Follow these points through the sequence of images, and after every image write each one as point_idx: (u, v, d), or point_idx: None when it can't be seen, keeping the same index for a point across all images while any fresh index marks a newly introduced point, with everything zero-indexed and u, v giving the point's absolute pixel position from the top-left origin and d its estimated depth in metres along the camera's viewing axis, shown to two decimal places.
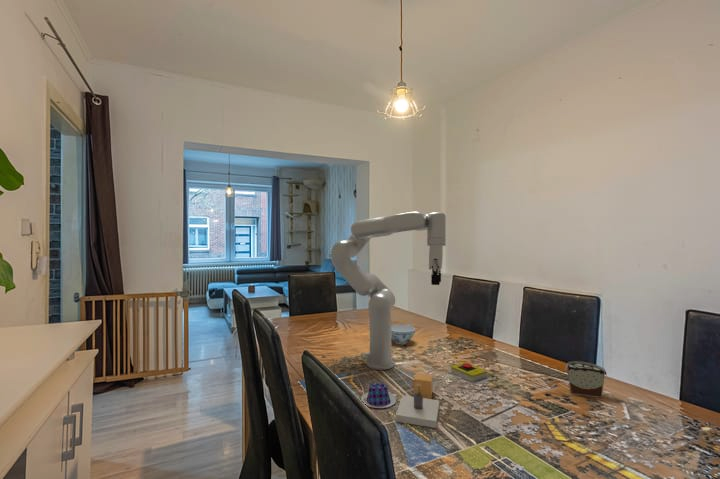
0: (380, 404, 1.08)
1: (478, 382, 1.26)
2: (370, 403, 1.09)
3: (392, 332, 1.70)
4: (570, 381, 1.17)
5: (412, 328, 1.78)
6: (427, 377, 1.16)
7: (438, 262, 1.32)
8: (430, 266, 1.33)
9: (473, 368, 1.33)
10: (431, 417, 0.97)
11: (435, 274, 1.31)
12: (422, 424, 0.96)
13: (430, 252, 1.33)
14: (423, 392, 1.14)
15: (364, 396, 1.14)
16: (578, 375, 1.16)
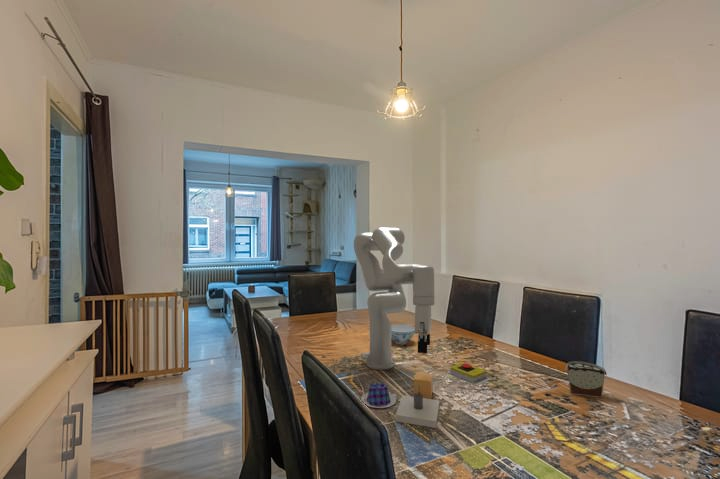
0: (381, 404, 1.08)
1: (479, 382, 1.25)
2: (370, 403, 1.09)
3: (392, 332, 1.70)
4: (570, 381, 1.17)
5: (412, 328, 1.78)
6: (427, 377, 1.16)
7: (425, 326, 1.11)
8: (416, 330, 1.12)
9: (472, 368, 1.33)
10: (431, 417, 0.97)
11: (422, 341, 1.10)
12: (422, 424, 0.96)
13: (416, 314, 1.13)
14: (423, 392, 1.14)
15: (364, 396, 1.14)
16: (578, 375, 1.16)
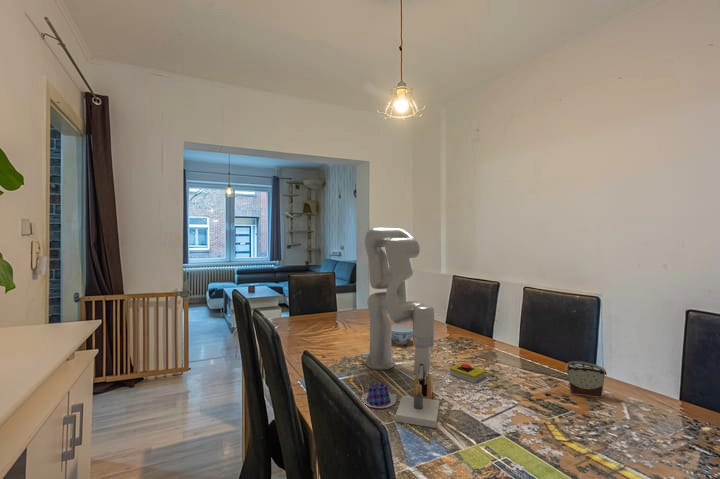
0: (381, 404, 1.08)
1: (480, 382, 1.25)
2: (371, 403, 1.09)
3: (392, 332, 1.70)
4: (570, 381, 1.17)
5: (412, 328, 1.78)
6: (427, 377, 1.16)
7: (425, 368, 1.11)
8: (415, 372, 1.12)
9: (472, 368, 1.32)
10: (431, 417, 0.97)
11: (422, 384, 1.12)
12: (422, 424, 0.96)
13: (416, 355, 1.13)
14: None
15: (363, 397, 1.13)
16: (578, 375, 1.16)
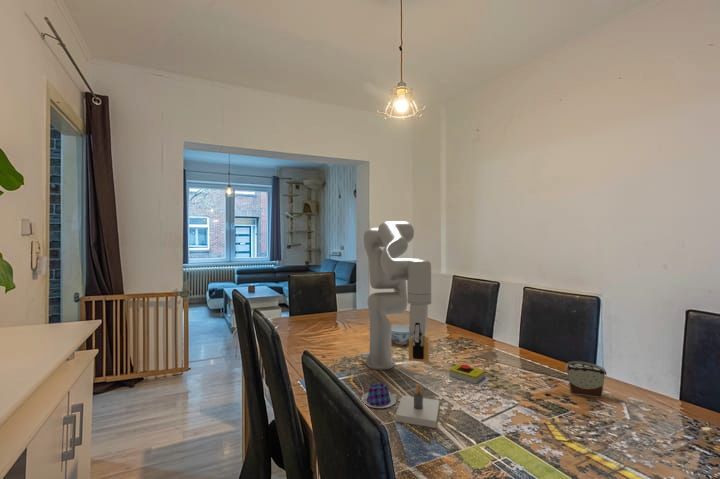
0: (382, 404, 1.08)
1: (481, 383, 1.25)
2: (372, 404, 1.08)
3: (392, 332, 1.70)
4: (570, 381, 1.17)
5: None
6: (423, 339, 1.04)
7: (421, 327, 0.99)
8: (411, 332, 1.00)
9: (471, 369, 1.32)
10: (431, 417, 0.97)
11: (418, 345, 1.00)
12: (422, 424, 0.96)
13: (411, 313, 1.01)
14: None
15: (363, 397, 1.13)
16: (578, 375, 1.16)
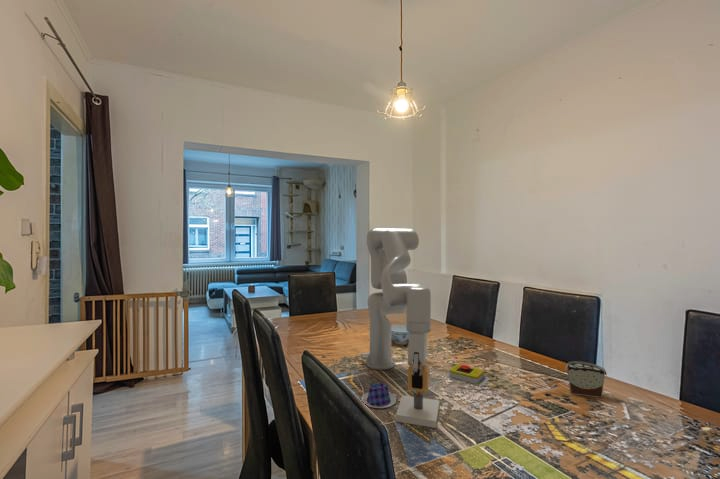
0: (383, 404, 1.08)
1: (482, 383, 1.25)
2: (372, 404, 1.08)
3: (392, 332, 1.70)
4: (570, 381, 1.17)
5: None
6: (423, 368, 1.02)
7: (420, 357, 0.98)
8: (409, 362, 0.99)
9: (471, 369, 1.32)
10: (431, 417, 0.97)
11: (416, 375, 0.99)
12: (422, 424, 0.96)
13: (409, 342, 0.99)
14: None
15: None
16: (578, 375, 1.16)
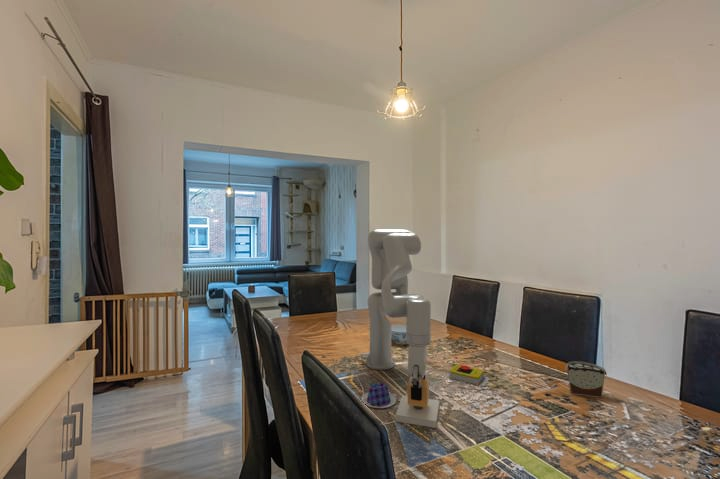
0: (383, 404, 1.08)
1: (483, 383, 1.25)
2: (373, 404, 1.08)
3: (392, 332, 1.70)
4: (570, 381, 1.17)
5: None
6: (422, 383, 1.03)
7: (420, 370, 0.98)
8: (409, 374, 0.99)
9: (470, 369, 1.31)
10: (431, 417, 0.97)
11: (416, 387, 0.97)
12: (422, 424, 0.96)
13: (409, 355, 0.99)
14: None
15: None
16: (578, 375, 1.16)
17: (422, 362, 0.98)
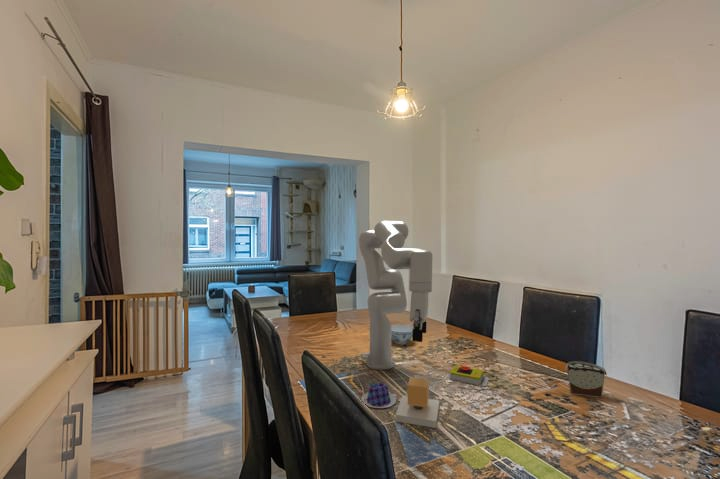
0: (384, 403, 1.08)
1: (484, 383, 1.24)
2: (374, 404, 1.08)
3: (392, 332, 1.70)
4: (570, 381, 1.17)
5: (412, 328, 1.78)
6: (422, 383, 1.03)
7: (421, 314, 1.06)
8: (411, 318, 1.07)
9: (470, 370, 1.31)
10: (431, 417, 0.97)
11: (417, 329, 1.05)
12: (422, 424, 0.96)
13: (412, 300, 1.07)
14: (418, 400, 1.00)
15: None
16: (578, 375, 1.16)
17: (423, 307, 1.06)
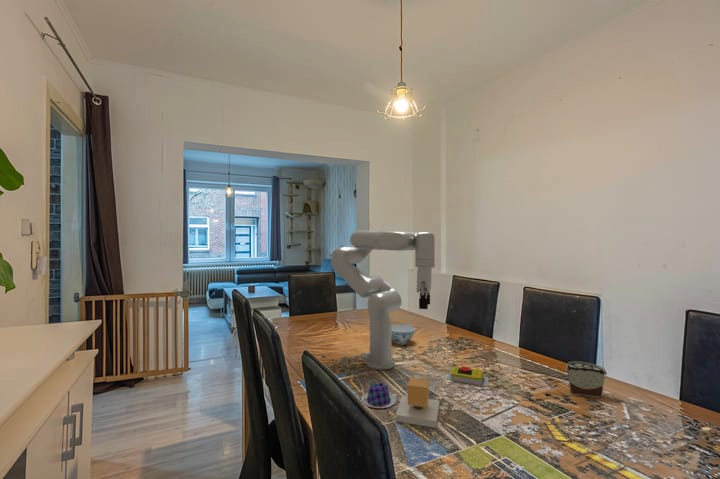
0: (384, 403, 1.08)
1: (485, 384, 1.24)
2: (374, 404, 1.08)
3: (392, 332, 1.70)
4: (570, 381, 1.17)
5: (412, 328, 1.78)
6: (422, 383, 1.03)
7: (426, 285, 1.25)
8: (418, 289, 1.26)
9: (470, 370, 1.31)
10: (431, 417, 0.97)
11: (423, 298, 1.24)
12: (422, 424, 0.96)
13: (418, 274, 1.27)
14: (418, 400, 1.00)
15: (363, 399, 1.12)
16: (578, 375, 1.16)
17: (428, 279, 1.25)
